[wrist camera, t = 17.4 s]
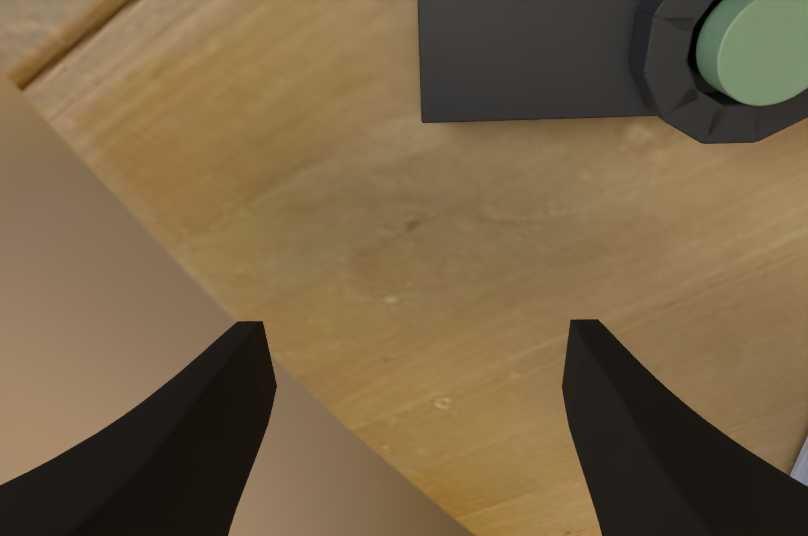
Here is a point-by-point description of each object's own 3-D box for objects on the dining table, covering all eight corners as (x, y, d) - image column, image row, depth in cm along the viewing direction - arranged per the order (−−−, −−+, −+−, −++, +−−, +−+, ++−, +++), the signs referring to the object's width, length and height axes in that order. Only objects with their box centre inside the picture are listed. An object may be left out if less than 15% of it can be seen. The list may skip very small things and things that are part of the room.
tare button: (789, 90, 17) (819, 104, 15) (685, 94, 17) (705, 108, 16) (823, -23, 15) (860, -18, 14) (707, -17, 15) (733, -13, 14)
